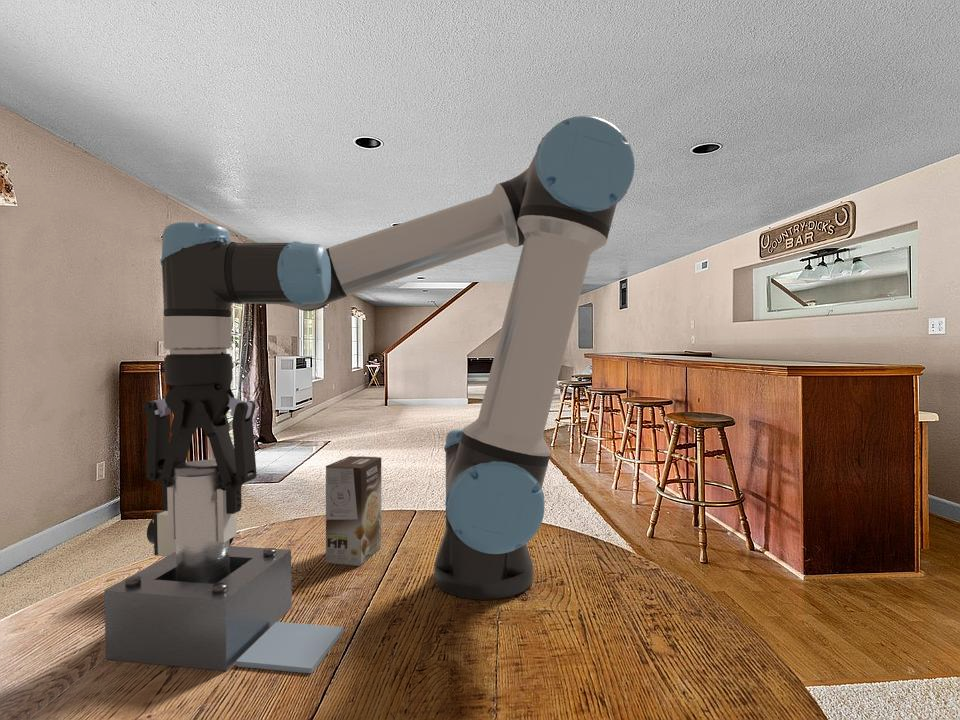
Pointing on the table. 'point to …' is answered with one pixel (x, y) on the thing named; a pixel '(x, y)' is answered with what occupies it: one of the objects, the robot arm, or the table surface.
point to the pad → (291, 647)
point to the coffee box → (353, 510)
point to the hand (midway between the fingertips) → (202, 537)
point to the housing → (197, 611)
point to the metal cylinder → (198, 524)
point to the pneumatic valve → (162, 535)
